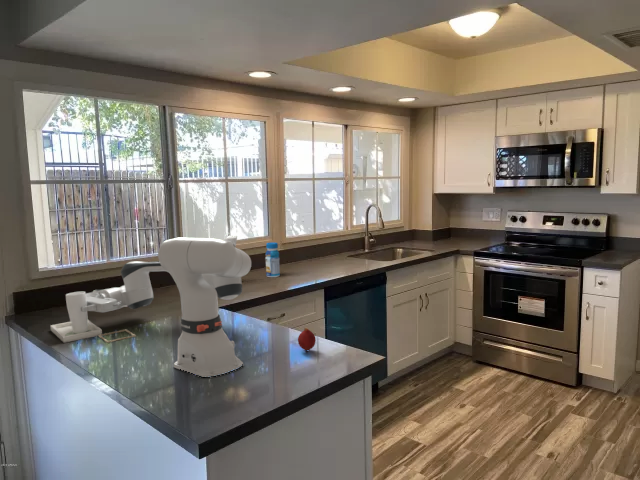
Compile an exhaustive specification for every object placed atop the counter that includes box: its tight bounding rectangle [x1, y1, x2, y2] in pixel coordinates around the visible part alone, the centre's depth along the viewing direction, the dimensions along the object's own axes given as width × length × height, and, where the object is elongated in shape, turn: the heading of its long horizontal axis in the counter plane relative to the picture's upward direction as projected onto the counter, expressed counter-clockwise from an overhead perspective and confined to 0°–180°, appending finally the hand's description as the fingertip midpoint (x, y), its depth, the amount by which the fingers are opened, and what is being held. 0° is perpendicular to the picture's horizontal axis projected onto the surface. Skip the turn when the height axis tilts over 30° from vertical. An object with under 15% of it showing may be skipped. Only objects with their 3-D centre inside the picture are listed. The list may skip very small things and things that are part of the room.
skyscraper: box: [223, 232, 238, 248], centre depth 265 cm, size 8×8×28 cm
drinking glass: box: [65, 291, 89, 334], centre depth 177 cm, size 7×7×15 cm
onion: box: [297, 327, 317, 351], centre depth 156 cm, size 6×6×8 cm
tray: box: [50, 319, 103, 344], centre depth 181 cm, size 20×13×2 cm, turn 41°
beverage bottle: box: [264, 242, 281, 278], centre depth 282 cm, size 8×8×20 cm
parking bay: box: [98, 328, 137, 344], centre depth 175 cm, size 10×10×1 cm
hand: (74, 307), depth 176 cm, fingers open, 8 cm apart
